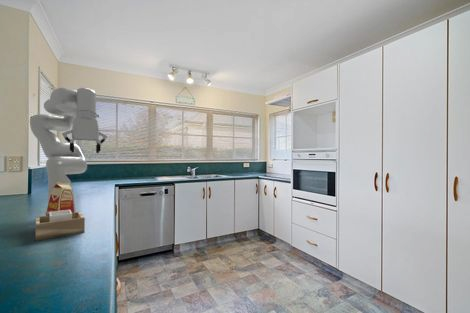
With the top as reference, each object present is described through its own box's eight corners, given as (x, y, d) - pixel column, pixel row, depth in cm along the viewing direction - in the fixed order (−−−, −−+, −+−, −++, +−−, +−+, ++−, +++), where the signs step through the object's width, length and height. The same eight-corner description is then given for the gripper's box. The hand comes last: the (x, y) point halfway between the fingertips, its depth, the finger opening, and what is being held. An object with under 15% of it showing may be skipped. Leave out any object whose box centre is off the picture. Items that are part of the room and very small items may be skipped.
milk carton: (59, 227, 98) (60, 182, 98) (43, 225, 100) (43, 181, 100) (78, 221, 107) (78, 180, 107) (62, 220, 109) (63, 179, 109)
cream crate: (49, 228, 92) (49, 211, 93) (69, 225, 97) (70, 209, 97) (49, 234, 86) (49, 216, 86) (71, 230, 90) (72, 213, 90)
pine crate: (36, 231, 92) (36, 217, 92) (80, 224, 102) (80, 211, 102) (35, 241, 81) (35, 224, 81) (84, 232, 91) (84, 217, 91)
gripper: (105, 119, 111) (105, 153, 111) (61, 114, 100) (61, 152, 99) (108, 117, 105) (108, 152, 105) (63, 111, 94) (62, 151, 94)
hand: (85, 152), depth 102 cm, fingers open, 9 cm apart
